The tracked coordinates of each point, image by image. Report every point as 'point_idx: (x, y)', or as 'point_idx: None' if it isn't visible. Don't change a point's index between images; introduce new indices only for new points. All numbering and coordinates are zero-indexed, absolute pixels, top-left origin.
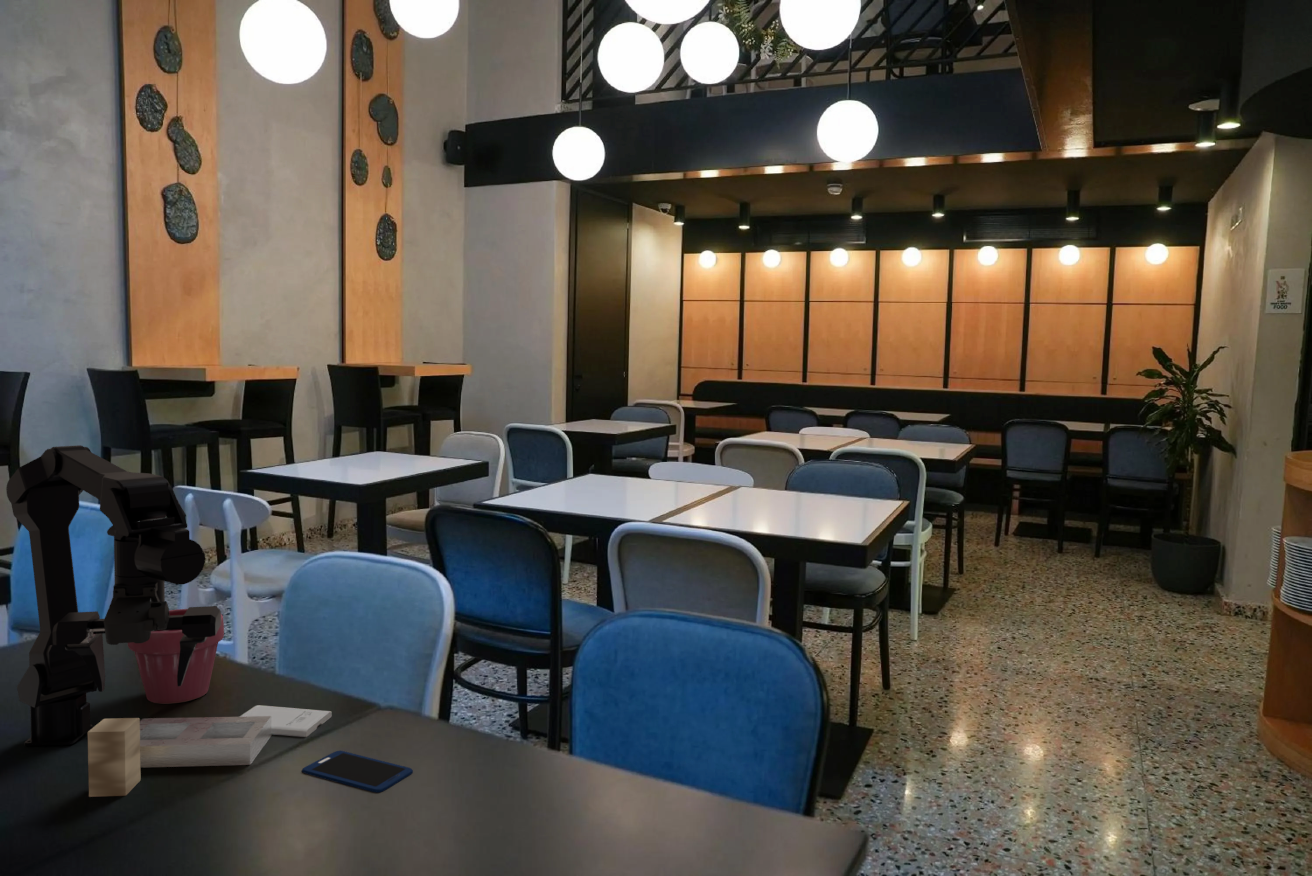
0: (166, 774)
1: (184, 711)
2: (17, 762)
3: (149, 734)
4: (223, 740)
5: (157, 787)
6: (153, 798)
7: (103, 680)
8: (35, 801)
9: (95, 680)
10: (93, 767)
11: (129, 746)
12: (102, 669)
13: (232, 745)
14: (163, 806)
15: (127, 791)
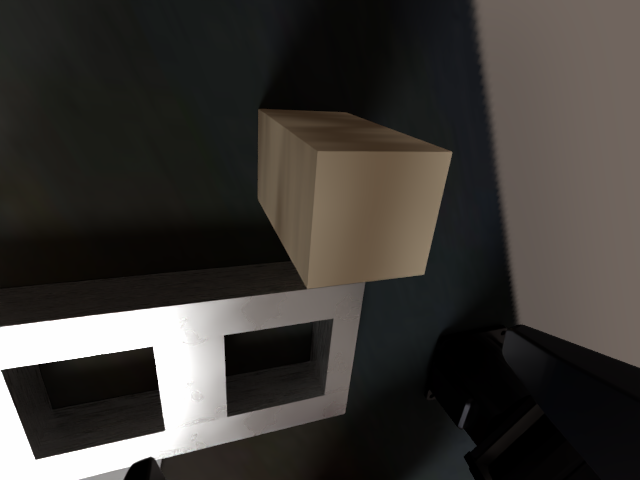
0: (204, 228)
1: (295, 476)
2: (503, 270)
3: (315, 376)
4: (62, 344)
5: (191, 152)
6: (168, 78)
7: (543, 380)
8: (447, 98)
9: (589, 354)
10: (368, 124)
11: (290, 170)
12: (601, 435)
13: (9, 322)
14: (102, 8)
15: (259, 120)
